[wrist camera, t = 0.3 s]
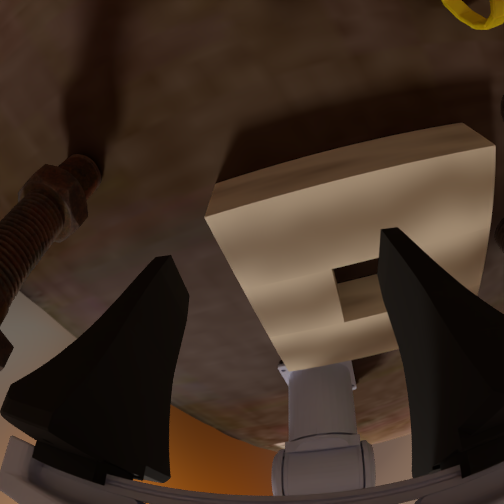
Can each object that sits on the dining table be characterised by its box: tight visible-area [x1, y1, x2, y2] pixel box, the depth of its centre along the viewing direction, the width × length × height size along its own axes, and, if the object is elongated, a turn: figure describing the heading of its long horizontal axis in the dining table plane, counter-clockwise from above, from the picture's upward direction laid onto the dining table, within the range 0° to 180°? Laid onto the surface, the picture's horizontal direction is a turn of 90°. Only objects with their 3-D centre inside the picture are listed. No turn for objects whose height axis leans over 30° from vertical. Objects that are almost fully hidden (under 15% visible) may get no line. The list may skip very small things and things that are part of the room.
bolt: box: [0, 154, 101, 371], centre depth 14 cm, size 6×5×15 cm
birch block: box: [204, 123, 496, 372], centre depth 21 cm, size 17×17×4 cm
